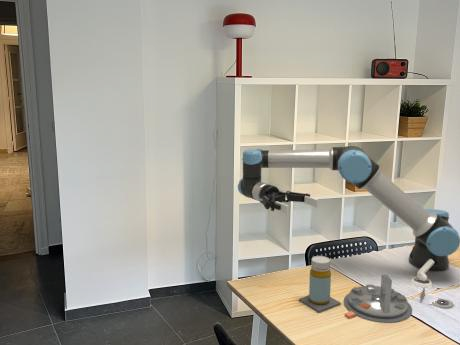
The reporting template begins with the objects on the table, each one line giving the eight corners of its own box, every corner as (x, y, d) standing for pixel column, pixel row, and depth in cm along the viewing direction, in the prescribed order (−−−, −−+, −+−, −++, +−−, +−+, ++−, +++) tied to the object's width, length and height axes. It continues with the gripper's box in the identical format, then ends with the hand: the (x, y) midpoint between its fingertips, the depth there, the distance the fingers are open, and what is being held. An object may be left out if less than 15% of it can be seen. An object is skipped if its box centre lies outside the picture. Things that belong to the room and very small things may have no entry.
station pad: (320, 293, 160) (320, 291, 160) (340, 304, 151) (340, 302, 151) (298, 300, 154) (298, 298, 154) (318, 313, 146) (319, 310, 146)
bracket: (451, 311, 147) (452, 301, 147) (419, 303, 153) (420, 294, 152) (454, 303, 153) (455, 294, 152) (423, 296, 158) (423, 287, 157)
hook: (450, 273, 163) (440, 266, 160) (428, 297, 165) (417, 291, 162) (436, 262, 170) (426, 254, 166) (415, 285, 172) (405, 278, 168)
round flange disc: (342, 290, 160) (344, 256, 158) (395, 291, 160) (398, 256, 157) (356, 318, 142) (358, 280, 139) (416, 318, 141) (419, 280, 139)
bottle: (316, 293, 158) (318, 253, 155) (333, 300, 153) (335, 259, 150) (304, 300, 153) (306, 259, 150) (322, 307, 148) (323, 265, 145)
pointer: (351, 313, 146) (351, 310, 145) (355, 316, 144) (355, 313, 144) (344, 316, 144) (344, 313, 144) (349, 319, 142) (349, 316, 142)
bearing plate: (373, 285, 166) (373, 284, 166) (426, 310, 147) (426, 309, 147) (330, 300, 154) (330, 299, 154) (382, 330, 136) (382, 329, 136)
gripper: (291, 198, 179) (328, 211, 162) (239, 208, 166) (274, 223, 149) (291, 180, 178) (329, 191, 160) (239, 188, 165) (274, 201, 147)
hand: (303, 206), depth 154 cm, fingers open, 13 cm apart
